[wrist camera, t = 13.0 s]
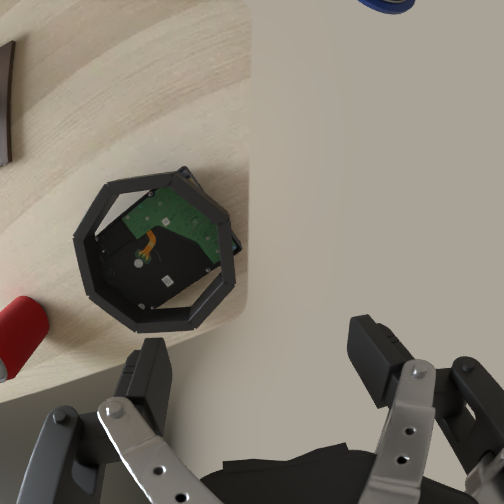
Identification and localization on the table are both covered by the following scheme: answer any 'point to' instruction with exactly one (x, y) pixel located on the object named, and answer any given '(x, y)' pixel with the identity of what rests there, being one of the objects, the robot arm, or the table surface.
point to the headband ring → (118, 302)
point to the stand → (5, 100)
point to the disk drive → (159, 247)
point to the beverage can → (20, 334)
